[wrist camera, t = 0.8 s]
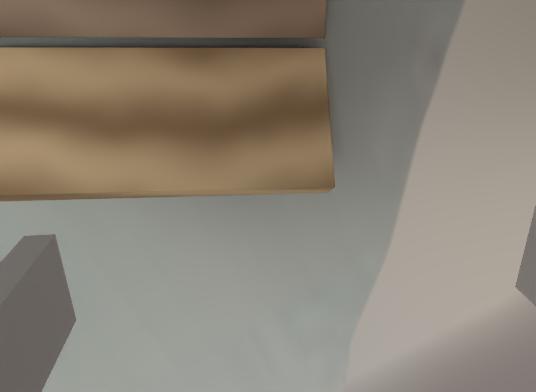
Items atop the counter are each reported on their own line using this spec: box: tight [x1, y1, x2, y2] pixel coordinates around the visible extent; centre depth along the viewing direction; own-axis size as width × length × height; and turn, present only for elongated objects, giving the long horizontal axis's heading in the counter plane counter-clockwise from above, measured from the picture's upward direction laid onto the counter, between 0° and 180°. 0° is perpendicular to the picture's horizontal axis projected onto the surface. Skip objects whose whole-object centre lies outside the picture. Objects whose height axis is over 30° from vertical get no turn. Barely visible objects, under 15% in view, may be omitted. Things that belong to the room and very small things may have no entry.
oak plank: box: [0, 47, 335, 201], centre depth 29 cm, size 10×24×2 cm
